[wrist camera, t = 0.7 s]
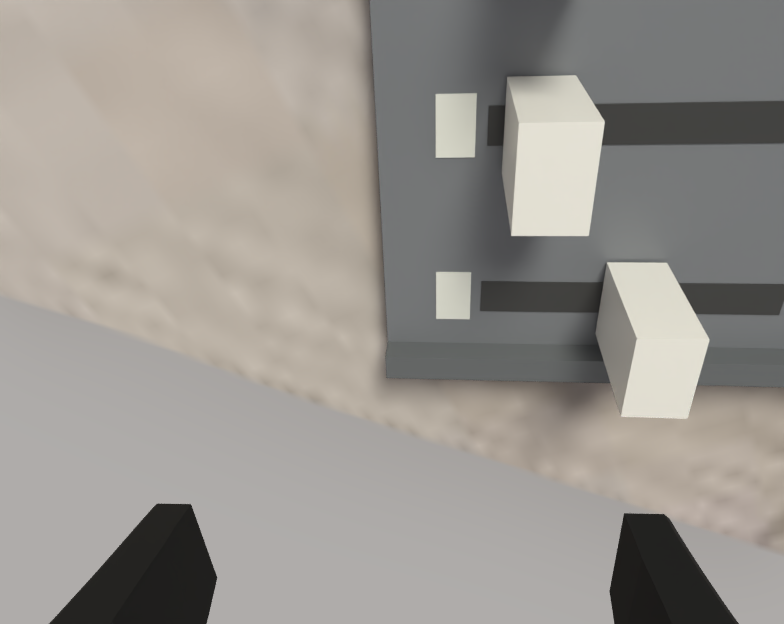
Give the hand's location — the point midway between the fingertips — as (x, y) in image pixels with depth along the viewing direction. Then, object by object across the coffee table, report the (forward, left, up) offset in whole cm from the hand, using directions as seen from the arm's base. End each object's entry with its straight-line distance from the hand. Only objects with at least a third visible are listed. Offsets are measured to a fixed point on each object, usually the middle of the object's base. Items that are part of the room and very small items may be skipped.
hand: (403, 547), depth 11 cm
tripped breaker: (-6, +1, -9) cm, 11 cm away
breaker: (-3, -4, -9) cm, 10 cm away
